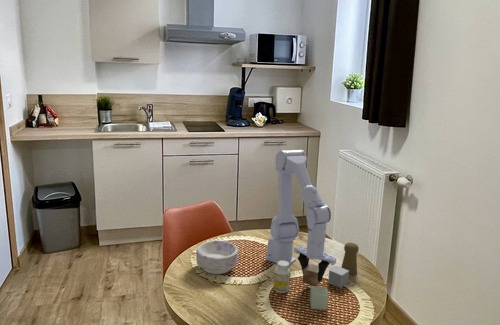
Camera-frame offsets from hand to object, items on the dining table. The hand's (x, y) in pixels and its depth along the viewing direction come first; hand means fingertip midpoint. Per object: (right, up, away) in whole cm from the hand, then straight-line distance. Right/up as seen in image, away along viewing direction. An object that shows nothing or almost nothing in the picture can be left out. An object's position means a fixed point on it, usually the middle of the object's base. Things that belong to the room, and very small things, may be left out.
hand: (312, 277), depth 140 cm
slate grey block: (+10, -3, +5) cm, 12 cm away
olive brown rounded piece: (+16, -2, +14) cm, 21 cm away
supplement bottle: (-11, -4, -1) cm, 11 cm away
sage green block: (0, -6, -9) cm, 11 cm away
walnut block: (0, -1, 0) cm, 2 cm away
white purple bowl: (-34, 0, +11) cm, 35 cm away
